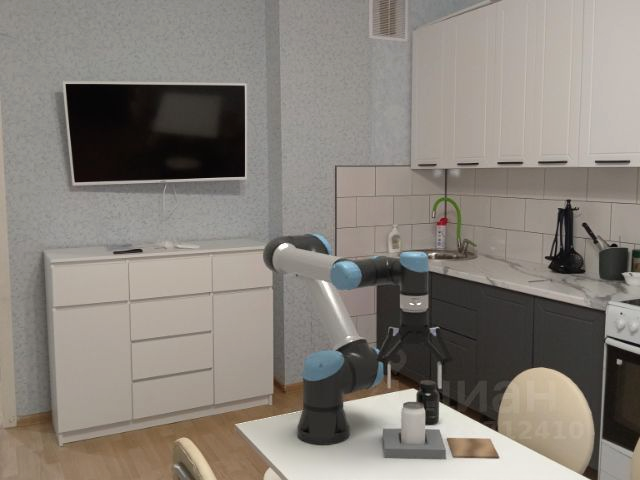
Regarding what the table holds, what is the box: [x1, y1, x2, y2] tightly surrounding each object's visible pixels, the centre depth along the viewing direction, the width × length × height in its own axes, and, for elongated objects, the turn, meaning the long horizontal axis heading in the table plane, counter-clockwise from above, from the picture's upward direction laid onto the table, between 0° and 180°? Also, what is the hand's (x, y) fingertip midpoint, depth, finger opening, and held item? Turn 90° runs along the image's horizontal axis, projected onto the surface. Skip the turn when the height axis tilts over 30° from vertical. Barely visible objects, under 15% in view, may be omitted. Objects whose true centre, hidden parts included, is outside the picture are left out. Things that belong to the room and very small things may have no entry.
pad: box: [446, 437, 500, 459], centre depth 177 cm, size 12×12×1 cm
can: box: [400, 401, 426, 444], centre depth 178 cm, size 6×6×12 cm
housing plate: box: [382, 428, 447, 460], centre depth 178 cm, size 16×14×2 cm
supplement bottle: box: [415, 379, 440, 426], centre depth 197 cm, size 7×7×12 cm
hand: (414, 387), depth 176 cm, fingers open, 13 cm apart
